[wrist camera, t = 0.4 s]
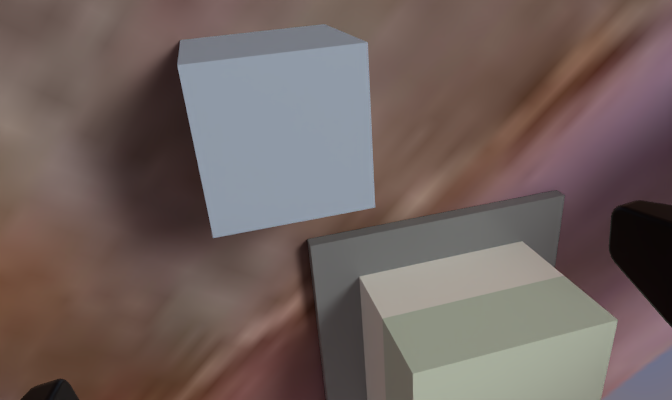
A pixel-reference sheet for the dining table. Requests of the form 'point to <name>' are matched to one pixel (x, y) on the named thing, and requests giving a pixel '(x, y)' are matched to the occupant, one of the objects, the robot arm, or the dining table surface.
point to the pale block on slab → (458, 309)
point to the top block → (279, 125)
